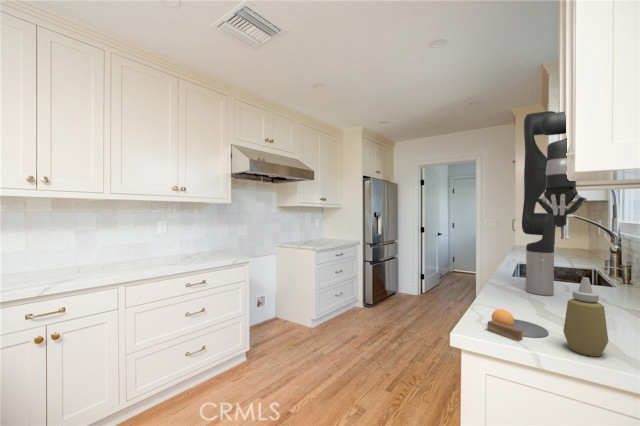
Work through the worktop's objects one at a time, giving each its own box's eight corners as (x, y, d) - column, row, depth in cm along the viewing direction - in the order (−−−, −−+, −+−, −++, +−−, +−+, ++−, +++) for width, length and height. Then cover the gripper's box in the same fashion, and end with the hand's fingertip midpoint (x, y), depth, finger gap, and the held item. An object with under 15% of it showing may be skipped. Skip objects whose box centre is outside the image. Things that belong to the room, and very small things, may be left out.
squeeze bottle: (616, 362, 65) (617, 283, 65) (572, 356, 68) (573, 280, 68) (596, 346, 72) (597, 275, 72) (557, 341, 75) (558, 273, 75)
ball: (499, 310, 88) (489, 305, 86) (519, 314, 83) (508, 308, 81) (496, 328, 86) (486, 323, 84) (516, 333, 81) (505, 328, 79)
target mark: (507, 316, 93) (507, 315, 93) (556, 330, 82) (556, 330, 82) (485, 324, 86) (485, 324, 86) (536, 341, 75) (536, 341, 75)
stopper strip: (491, 329, 83) (491, 320, 83) (522, 339, 76) (522, 330, 76) (487, 330, 82) (487, 321, 82) (518, 341, 75) (518, 331, 75)
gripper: (591, 172, 90) (591, 227, 90) (541, 176, 101) (541, 225, 101) (583, 170, 86) (582, 228, 86) (531, 175, 97) (531, 226, 97)
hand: (560, 226), depth 93 cm, fingers closed
